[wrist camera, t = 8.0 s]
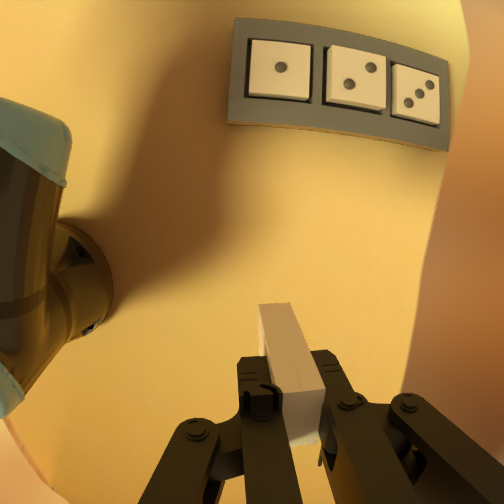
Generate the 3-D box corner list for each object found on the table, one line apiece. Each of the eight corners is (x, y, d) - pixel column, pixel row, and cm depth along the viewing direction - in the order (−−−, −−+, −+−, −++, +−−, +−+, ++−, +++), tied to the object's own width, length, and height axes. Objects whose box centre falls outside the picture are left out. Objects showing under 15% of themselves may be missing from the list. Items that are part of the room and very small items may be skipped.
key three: (388, 115, 32) (397, 112, 30) (389, 67, 31) (397, 63, 29) (430, 124, 33) (440, 123, 31) (430, 79, 31) (439, 76, 29)
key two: (325, 101, 31) (331, 97, 28) (327, 50, 29) (333, 44, 27) (377, 110, 31) (386, 107, 29) (378, 61, 29) (386, 56, 27)
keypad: (227, 124, 34) (226, 120, 31) (234, 27, 30) (234, 17, 28) (435, 151, 35) (448, 151, 32) (435, 65, 32) (447, 61, 29)
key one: (248, 96, 31) (249, 91, 29) (251, 46, 30) (252, 39, 28) (304, 101, 32) (309, 97, 30) (306, 51, 30) (310, 45, 28)
